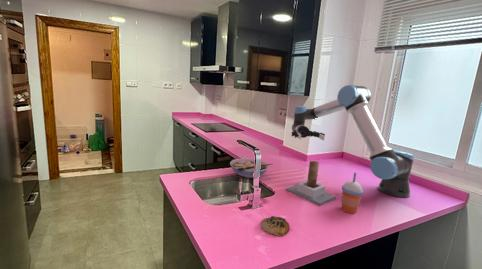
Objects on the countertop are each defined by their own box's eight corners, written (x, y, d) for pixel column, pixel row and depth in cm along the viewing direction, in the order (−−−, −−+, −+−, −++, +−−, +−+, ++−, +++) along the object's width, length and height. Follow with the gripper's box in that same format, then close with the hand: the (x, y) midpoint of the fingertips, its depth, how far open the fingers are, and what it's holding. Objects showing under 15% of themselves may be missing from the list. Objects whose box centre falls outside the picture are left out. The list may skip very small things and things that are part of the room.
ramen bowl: (253, 167, 165) (254, 155, 163) (277, 179, 146) (278, 165, 145) (220, 172, 150) (221, 159, 149) (242, 186, 132) (243, 171, 130)
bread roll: (286, 220, 102) (287, 210, 100) (291, 240, 91) (293, 229, 89) (258, 220, 101) (259, 209, 100) (261, 240, 91) (262, 229, 89)
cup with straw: (347, 216, 109) (353, 176, 105) (334, 206, 117) (339, 169, 114) (364, 214, 111) (371, 176, 108) (350, 204, 120) (356, 169, 116)
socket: (335, 198, 126) (336, 188, 125) (319, 205, 117) (321, 195, 115) (302, 184, 140) (303, 176, 139) (286, 190, 131) (287, 181, 130)
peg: (316, 192, 128) (320, 162, 125) (311, 194, 125) (315, 164, 122) (309, 189, 131) (313, 160, 128) (304, 191, 128) (308, 161, 125)
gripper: (320, 137, 167) (332, 145, 146) (282, 135, 166) (290, 142, 145) (321, 126, 166) (334, 132, 145) (284, 124, 165) (291, 130, 144)
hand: (312, 137), depth 145 cm, fingers open, 13 cm apart
